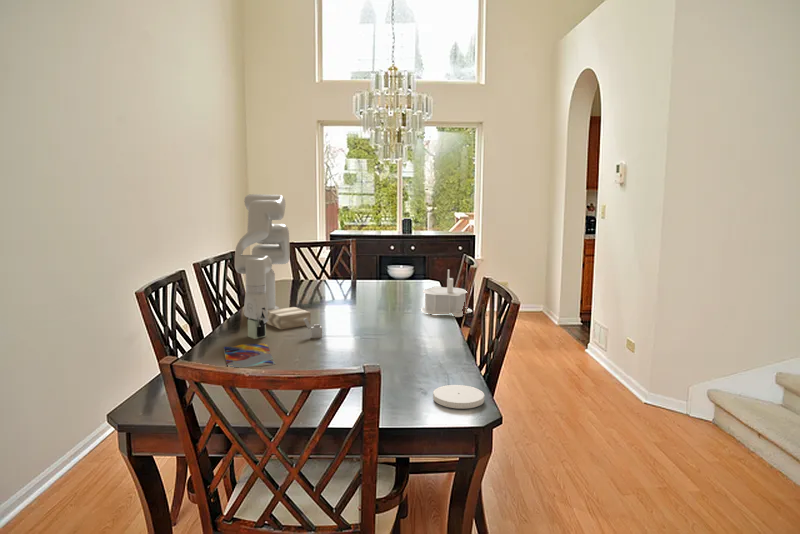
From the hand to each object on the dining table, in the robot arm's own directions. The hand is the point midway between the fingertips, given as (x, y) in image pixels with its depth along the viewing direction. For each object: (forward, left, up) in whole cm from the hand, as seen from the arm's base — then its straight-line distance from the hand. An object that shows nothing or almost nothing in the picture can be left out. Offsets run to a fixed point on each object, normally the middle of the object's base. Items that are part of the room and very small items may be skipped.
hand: (257, 334), depth 218 cm
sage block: (0, 0, -1) cm, 1 cm away
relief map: (+20, -16, -2) cm, 26 cm away
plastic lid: (+97, +2, -2) cm, 97 cm away
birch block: (-9, +21, -1) cm, 23 cm away
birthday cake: (+22, +91, -2) cm, 93 cm away
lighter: (+16, +15, -1) cm, 22 cm away
